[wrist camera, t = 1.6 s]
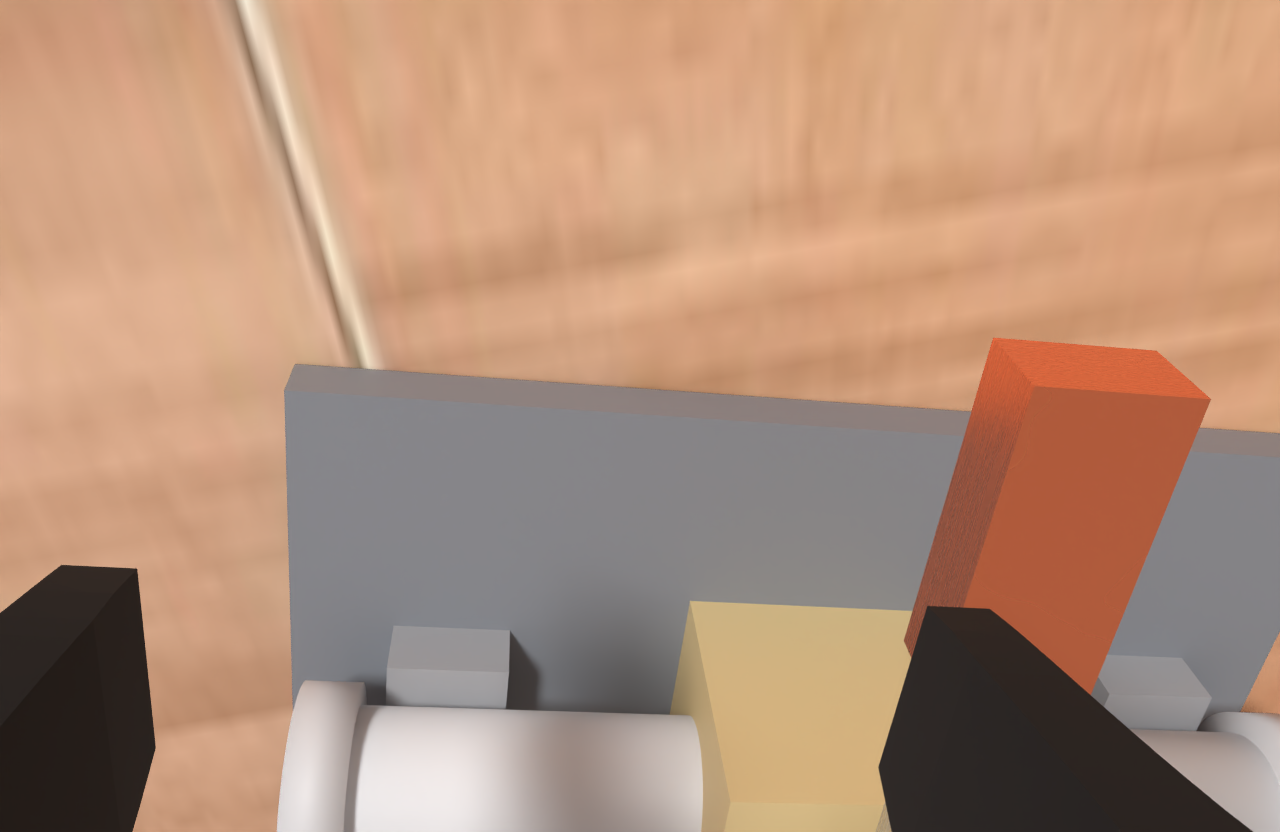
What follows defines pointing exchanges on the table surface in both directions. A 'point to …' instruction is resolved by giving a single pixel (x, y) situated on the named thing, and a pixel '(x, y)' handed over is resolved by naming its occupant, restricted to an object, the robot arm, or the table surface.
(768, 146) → the table surface
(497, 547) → the valve board
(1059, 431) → the valve lever
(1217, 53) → the table surface
